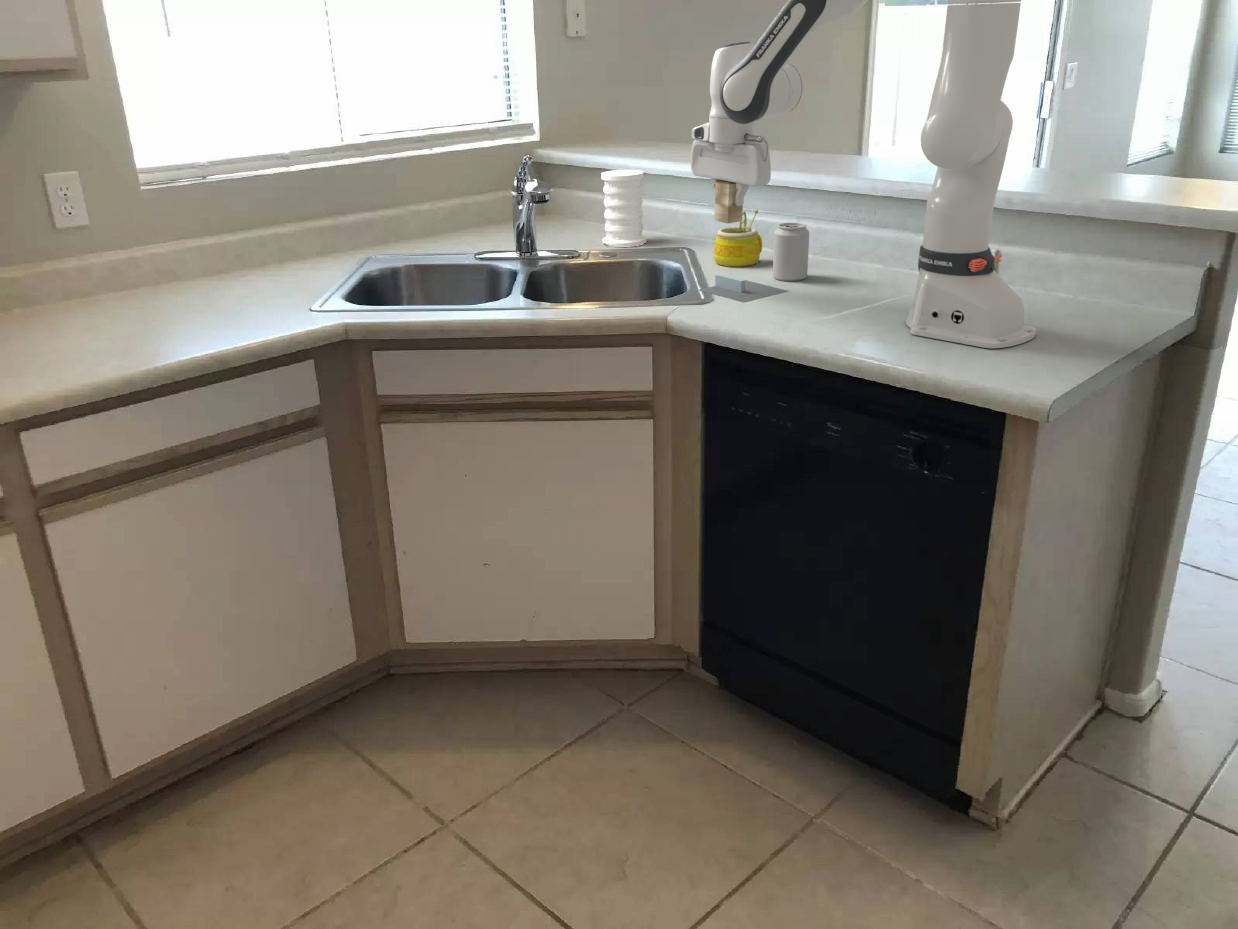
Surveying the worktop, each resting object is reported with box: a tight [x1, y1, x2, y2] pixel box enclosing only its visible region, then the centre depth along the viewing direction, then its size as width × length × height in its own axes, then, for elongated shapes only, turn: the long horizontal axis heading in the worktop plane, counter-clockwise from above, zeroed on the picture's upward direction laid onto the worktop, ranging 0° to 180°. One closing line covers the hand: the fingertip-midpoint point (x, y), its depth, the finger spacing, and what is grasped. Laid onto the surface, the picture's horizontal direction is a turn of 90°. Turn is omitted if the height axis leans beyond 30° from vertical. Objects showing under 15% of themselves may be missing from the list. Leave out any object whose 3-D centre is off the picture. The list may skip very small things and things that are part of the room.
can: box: [772, 222, 810, 282], centre depth 204 cm, size 8×8×12 cm
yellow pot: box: [713, 209, 763, 268], centre depth 220 cm, size 13×11×12 cm
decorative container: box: [600, 169, 647, 246], centre depth 245 cm, size 12×12×18 cm
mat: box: [698, 279, 789, 304], centre depth 198 cm, size 14×13×1 cm
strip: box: [714, 273, 746, 293], centre depth 199 cm, size 8×1×2 cm, turn 37°
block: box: [714, 180, 744, 224], centre depth 192 cm, size 4×4×8 cm
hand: (728, 203), depth 192 cm, fingers closed on block, 4 cm apart
